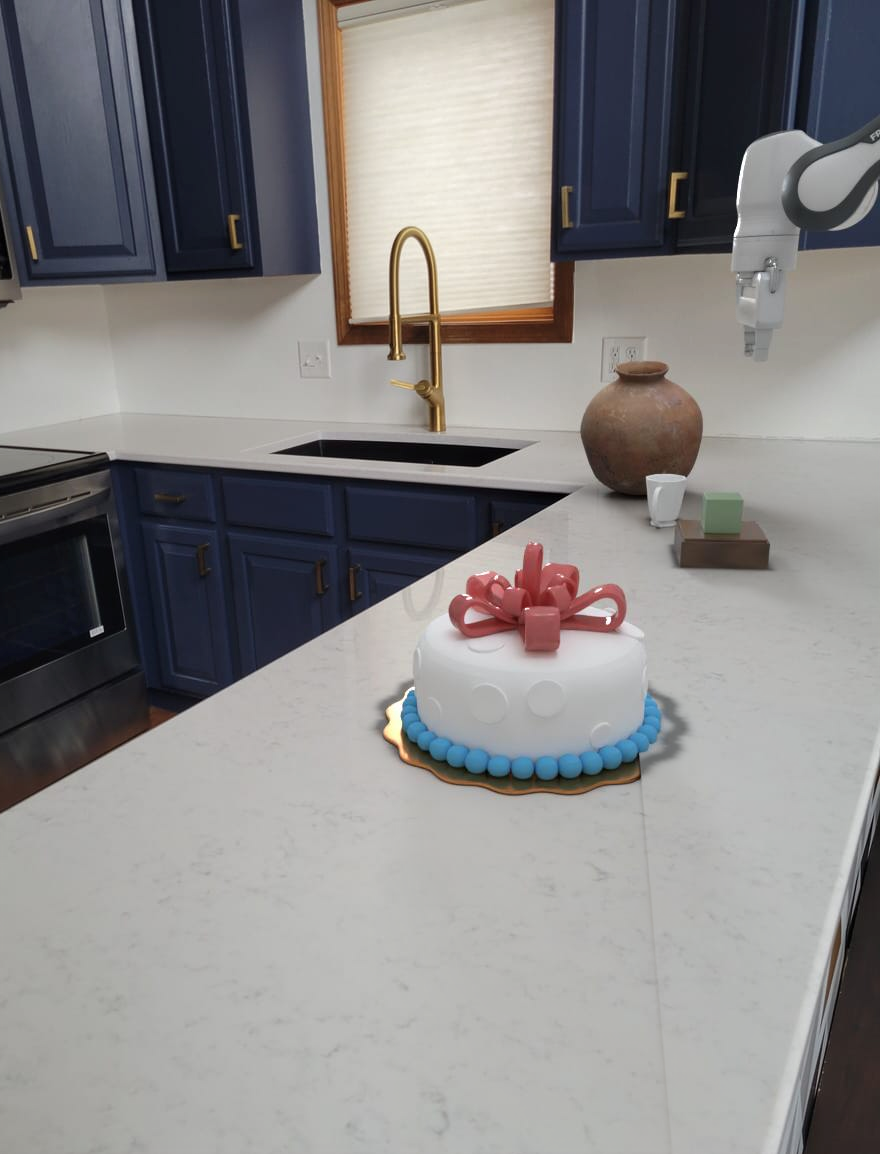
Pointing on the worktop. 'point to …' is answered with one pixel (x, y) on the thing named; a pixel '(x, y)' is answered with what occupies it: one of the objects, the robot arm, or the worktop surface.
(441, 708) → the wedding cake
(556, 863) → the worktop surface
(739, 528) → the block
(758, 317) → the robot arm
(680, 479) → the cup
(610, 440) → the pottery
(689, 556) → the block
